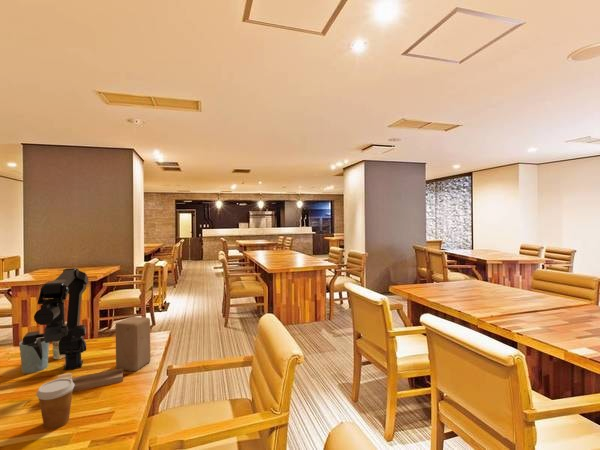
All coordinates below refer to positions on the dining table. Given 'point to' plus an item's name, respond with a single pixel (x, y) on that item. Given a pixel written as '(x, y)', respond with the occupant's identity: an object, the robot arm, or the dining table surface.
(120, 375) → the walnut board
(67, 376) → the block
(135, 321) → the wooden block
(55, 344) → the candy box
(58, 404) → the disposable coffee cup
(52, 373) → the dining table surface
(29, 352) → the grey embossed cup
